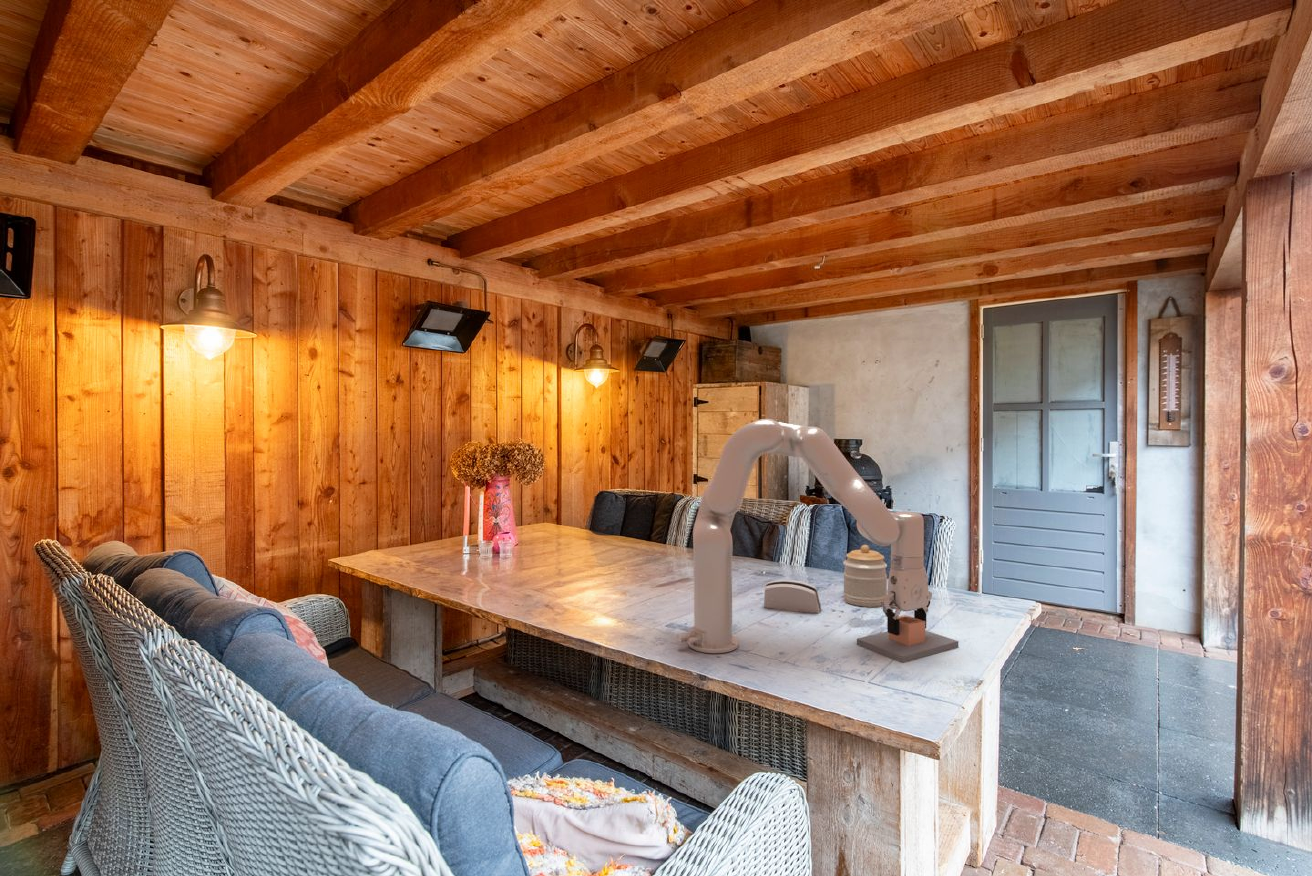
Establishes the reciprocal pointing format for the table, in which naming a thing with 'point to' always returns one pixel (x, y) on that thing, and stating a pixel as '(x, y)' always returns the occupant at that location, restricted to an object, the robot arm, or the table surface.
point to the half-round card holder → (792, 596)
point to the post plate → (905, 652)
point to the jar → (865, 578)
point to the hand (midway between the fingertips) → (907, 630)
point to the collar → (910, 631)
